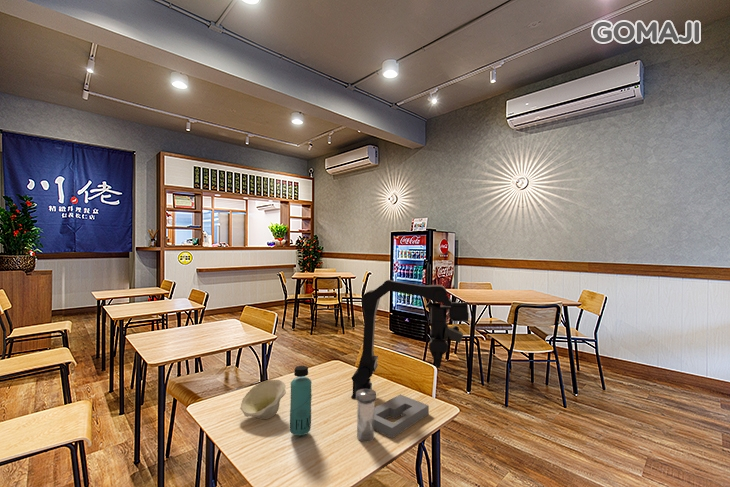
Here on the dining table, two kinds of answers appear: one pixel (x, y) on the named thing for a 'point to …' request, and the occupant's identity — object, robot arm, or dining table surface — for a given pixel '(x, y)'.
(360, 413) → the salt shaker
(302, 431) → the beverage bottle
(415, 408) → the keyhole plate
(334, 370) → the dining table surface
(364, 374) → the robot arm
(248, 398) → the bowl
